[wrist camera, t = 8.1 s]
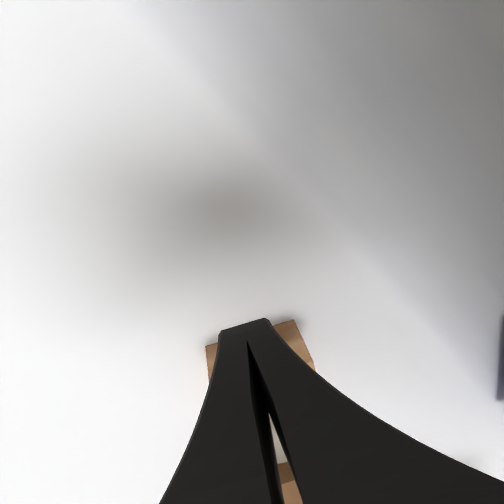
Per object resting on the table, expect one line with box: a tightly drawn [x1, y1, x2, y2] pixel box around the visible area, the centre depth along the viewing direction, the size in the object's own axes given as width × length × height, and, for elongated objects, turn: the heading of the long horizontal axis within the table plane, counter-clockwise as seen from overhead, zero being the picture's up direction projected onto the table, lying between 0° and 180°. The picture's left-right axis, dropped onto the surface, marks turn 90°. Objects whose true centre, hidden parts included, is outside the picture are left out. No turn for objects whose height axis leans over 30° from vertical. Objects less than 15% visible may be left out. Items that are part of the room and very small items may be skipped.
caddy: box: [205, 320, 315, 504], centre depth 21 cm, size 5×12×6 cm, turn 13°
